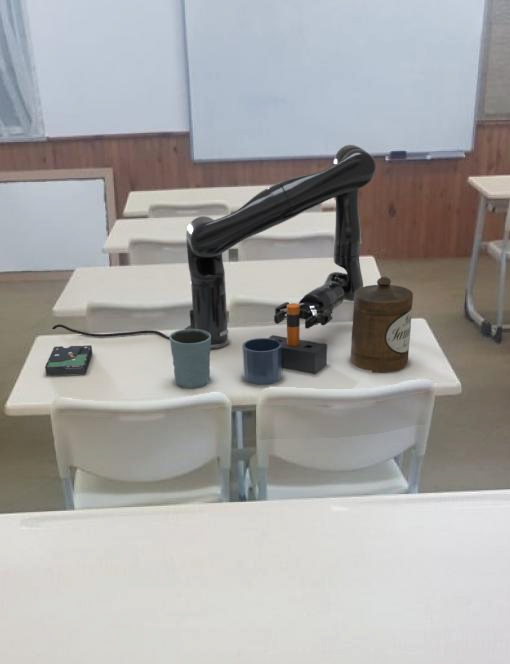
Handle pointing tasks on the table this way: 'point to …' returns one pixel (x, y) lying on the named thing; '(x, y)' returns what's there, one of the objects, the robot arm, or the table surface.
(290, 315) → the screwdriver
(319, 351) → the holder
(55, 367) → the disk drive
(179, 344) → the grey-green cup
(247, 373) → the pencil cup
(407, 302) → the wooden container
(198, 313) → the robot arm
